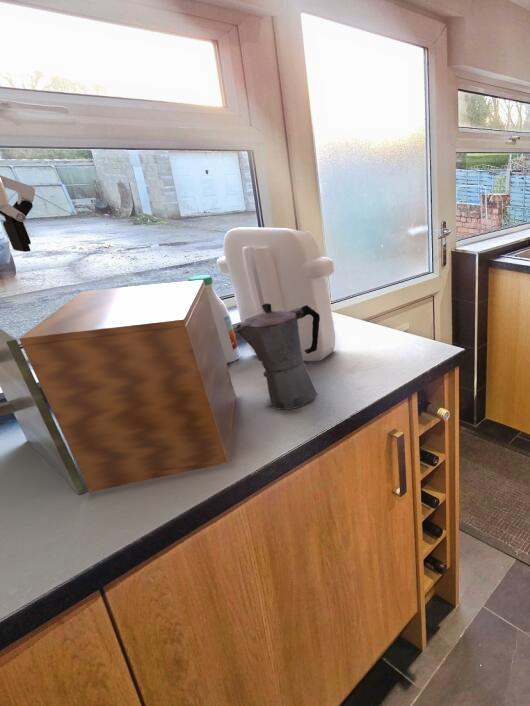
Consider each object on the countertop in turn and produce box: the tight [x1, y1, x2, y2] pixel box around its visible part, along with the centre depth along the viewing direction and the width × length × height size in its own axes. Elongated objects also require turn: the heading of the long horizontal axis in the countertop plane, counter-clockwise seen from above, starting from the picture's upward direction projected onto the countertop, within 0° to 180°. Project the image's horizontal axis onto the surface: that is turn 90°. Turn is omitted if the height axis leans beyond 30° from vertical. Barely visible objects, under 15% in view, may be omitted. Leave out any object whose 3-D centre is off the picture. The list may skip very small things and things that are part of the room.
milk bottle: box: [187, 274, 241, 364], centre depth 115 cm, size 8×8×20 cm
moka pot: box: [233, 303, 320, 410], centre depth 95 cm, size 10×15×20 cm, turn 137°
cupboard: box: [18, 280, 237, 493], centre depth 81 cm, size 18×26×24 cm
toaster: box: [216, 226, 336, 362], centre depth 115 cm, size 27×11×30 cm, turn 77°
